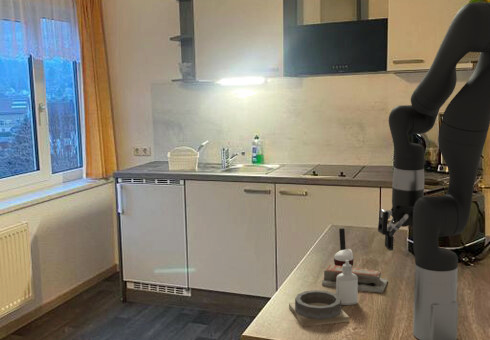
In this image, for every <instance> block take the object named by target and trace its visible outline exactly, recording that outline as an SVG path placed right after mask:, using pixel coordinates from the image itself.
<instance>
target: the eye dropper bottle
mask: <svg viewBox="0 0 490 340" xmlns="http://www.w3.org/2000/svg"><path fill="white" fill-rule="evenodd" d="M352 268H353V266H352V265H350V264H349V260H346V262H345V264H343V273H341V274H339V275H337V277H336V287H335V294H337V295H338V296H339V297H340V298H341V306H353V305H356V304H358V298H359V297H358V293H359V290H358V277H357V276H356V275H355V274H354V273H352Z"/></svg>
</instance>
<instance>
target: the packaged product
mask: <svg viewBox="0 0 490 340" xmlns="http://www.w3.org/2000/svg"><path fill="white" fill-rule="evenodd" d="M341 273H343V266H336V265H335V264H329V265H328V266H327V267H326V268H325V270H324V271H323V279H322V281H321V286H325V287H333V288H336V277H337V275H339V274H341ZM352 273H354V274H355V275H356V276H357V277H358V291H363V292H369V293H370V292H371V293H379V294H383V292H384V290H385V289H386V286H387V284H388V278H382V277H381V276H382V272H381V271H379V270H374V269H365V268H360V267H352Z"/></svg>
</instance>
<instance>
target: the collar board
mask: <svg viewBox="0 0 490 340" xmlns="http://www.w3.org/2000/svg"><path fill="white" fill-rule="evenodd" d="M288 308H289V310H290V311H291V312H292V313H293V315H294V317H295V318H296V320H297V321H299V323H300V325H301V326H302V327H303V328H305V327H312V326H321V325H322V326H323V325H331V324H337V323H348V322H350V316H349V315H348V314H347V313H346V312H345V311H344V309H342V305H341V298H340V297H339V296H338V295H337V294H336V293H334V292H331V291H328V290H327V291H326V290H319V289H318V290H317V289H314V290H306V291H302V292H300V293H298V294H297V295H296V296H295V299H294V302H289V303H288Z"/></svg>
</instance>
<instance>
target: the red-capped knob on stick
mask: <svg viewBox="0 0 490 340" xmlns="http://www.w3.org/2000/svg"><path fill="white" fill-rule="evenodd" d="M338 231H339V248H340V250H339V251H337V252H335V254H334V257H333V262H334V263H333V264H334V265H336V266H343V264H345V262H346V260H349V264H350V265H352V267H353V265H354V260H355V259H354V253H353V251H352V249H351V248H347V247H346V237H345V236H346V234H345V233H346V232H345V231H346V230H345V228H341V227H340V228H339V230H338Z"/></svg>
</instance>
